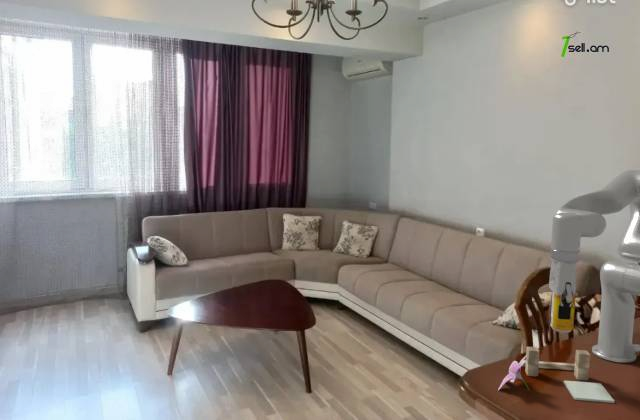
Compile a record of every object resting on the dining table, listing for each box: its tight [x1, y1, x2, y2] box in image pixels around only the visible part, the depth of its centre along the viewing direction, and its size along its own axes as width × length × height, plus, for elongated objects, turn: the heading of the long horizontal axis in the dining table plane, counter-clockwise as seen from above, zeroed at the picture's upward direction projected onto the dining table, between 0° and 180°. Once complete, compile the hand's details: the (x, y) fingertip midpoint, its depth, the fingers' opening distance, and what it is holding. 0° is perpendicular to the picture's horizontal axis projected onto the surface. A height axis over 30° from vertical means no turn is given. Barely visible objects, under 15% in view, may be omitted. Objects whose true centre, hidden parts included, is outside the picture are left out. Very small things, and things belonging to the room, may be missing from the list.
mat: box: [563, 380, 615, 404], centre depth 141 cm, size 10×10×1 cm
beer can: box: [549, 285, 577, 334], centre depth 147 cm, size 6×6×15 cm
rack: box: [521, 346, 591, 381], centre depth 153 cm, size 17×8×8 cm, turn 80°
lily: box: [498, 354, 531, 391], centre depth 143 cm, size 12×12×10 cm
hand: (560, 314), depth 148 cm, fingers closed on beer can, 5 cm apart
